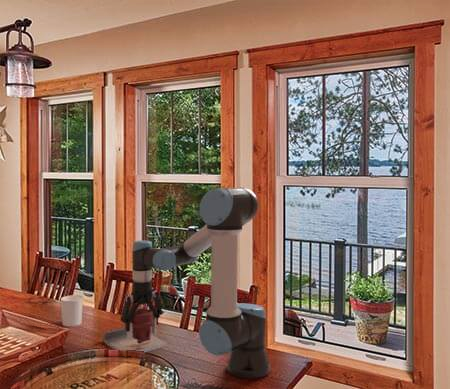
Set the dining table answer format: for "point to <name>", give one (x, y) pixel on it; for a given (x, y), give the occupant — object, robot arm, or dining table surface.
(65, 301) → the candle holder
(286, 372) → the dining table surface
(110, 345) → the rack plate
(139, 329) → the mechanical component
